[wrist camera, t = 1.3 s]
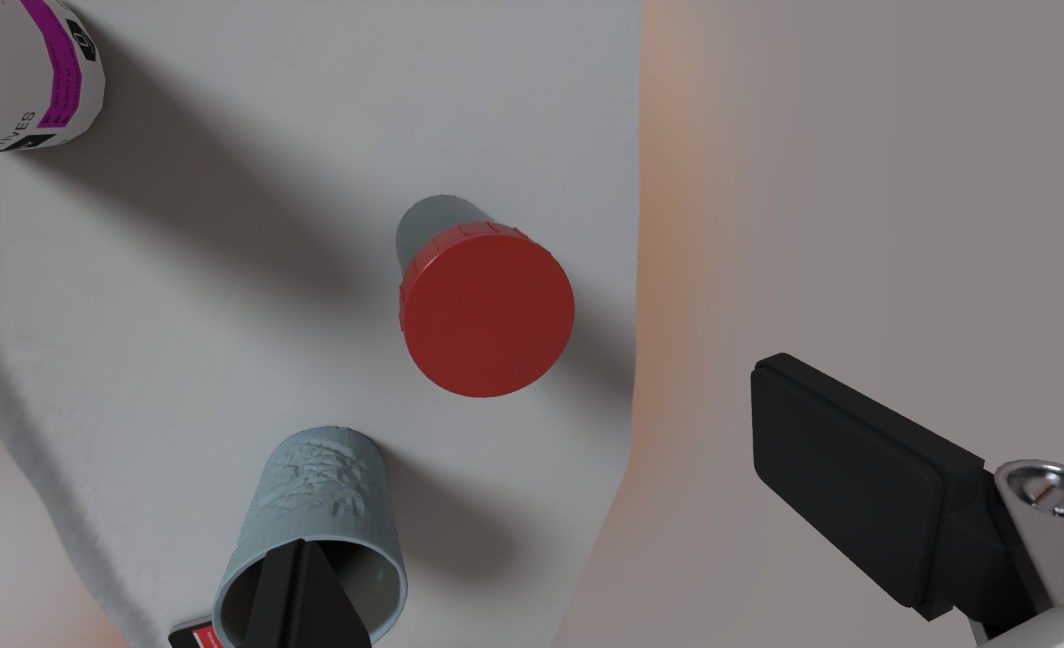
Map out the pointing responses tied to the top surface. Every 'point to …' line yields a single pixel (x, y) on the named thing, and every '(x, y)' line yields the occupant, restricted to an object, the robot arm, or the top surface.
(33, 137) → the supplement can
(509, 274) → the lid
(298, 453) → the embossed blue cup
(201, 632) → the smartphone
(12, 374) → the top surface
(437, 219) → the jar
